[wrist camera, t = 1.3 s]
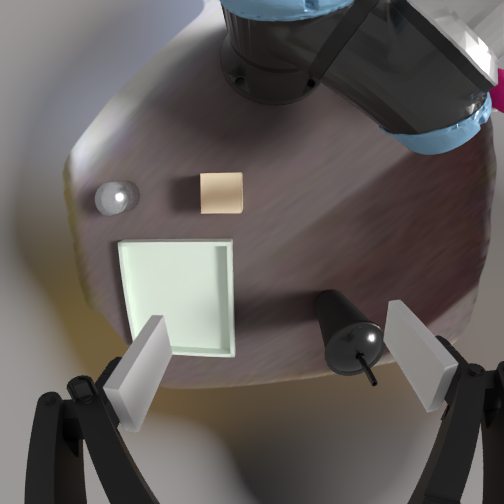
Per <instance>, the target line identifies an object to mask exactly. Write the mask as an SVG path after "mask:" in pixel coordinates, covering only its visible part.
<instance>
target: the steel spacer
mask: <svg viewBox="0 0 504 504" xmlns="http://www.w3.org/2000/svg"><path fill="white" fill-rule="evenodd" d="M139 197H140V194H139V190H138V188H137V186H136V185H135V184H134V183H132V182H129V181H123V182H107V183H104V184H102V185H101V186H100V187H99V188H98V189H97V191H96V194H95V204H96V207H97V209H98V210H99V211H100V212H101V213H102V214H104V215H108V216H109V215H114V214H117V213H121V212H124V211H128V210H131V209H133V208H134V207H135V206H136V205H137V204H138V201H139Z"/></svg>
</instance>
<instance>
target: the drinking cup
mask: <svg viewBox="0 0 504 504" xmlns="http://www.w3.org/2000/svg"><path fill="white" fill-rule="evenodd" d="M316 311H317V315H318V319H319V324H320V328H321V332H322V337H323V341H324V346H325V360H326V363H327V365H328V367H329V368H330V369H331V370H332V371H333V372H335V373H337V374H340V375H344V376H352V375H357V374H360V373H363V372H365V374H366V375H367V377H368V379H369V381H370V383H371V385H372V386H376V385H377V380H376V379H375V377H374V375H373V373H372V371H371V369H370V368H371V367H373V366H374V365H375V364H376V363H377V362H378V361H379V359H380V358H381V356H382V355H383V353H384V350H385V346H386V344H385V342H384V341H383V339H384V332H383V330H382V329H381V327H380V326H379V325H377V324H376V323H374V322H371V321H370V320H369V319H368V318H367V317H366V316H365V315H364V314H363V313H362V312H361V311H360V310H359V309H358V308H357V307H356V306H354V305H353V304H352V303H351V302H350V301H349V300H348V299H347V298H346V297H345V296H344V295H343V294H342V293H341V292H339V291H337V290H328V291H325V292H323V293H322V294H321V295H320V296H319V297H318V299H317V301H316Z"/></svg>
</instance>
